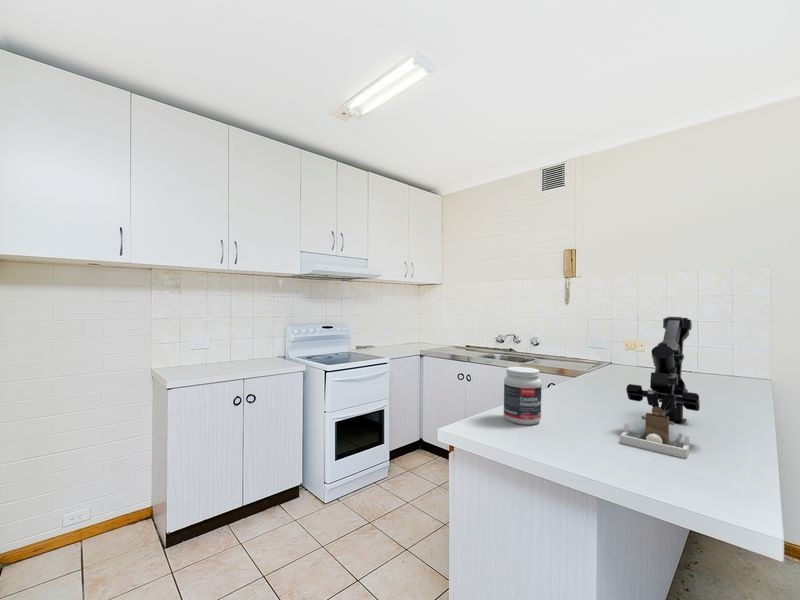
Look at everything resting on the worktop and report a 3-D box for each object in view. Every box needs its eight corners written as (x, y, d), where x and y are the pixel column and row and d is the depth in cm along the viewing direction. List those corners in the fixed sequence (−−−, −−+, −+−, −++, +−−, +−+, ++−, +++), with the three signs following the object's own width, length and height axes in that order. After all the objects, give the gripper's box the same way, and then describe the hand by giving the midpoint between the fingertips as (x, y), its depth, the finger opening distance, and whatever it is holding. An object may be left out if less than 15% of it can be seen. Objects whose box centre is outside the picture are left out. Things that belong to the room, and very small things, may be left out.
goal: (624, 438, 118) (624, 421, 118) (689, 452, 107) (690, 435, 107) (619, 443, 113) (619, 426, 113) (687, 459, 102) (687, 441, 102)
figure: (642, 437, 118) (642, 403, 118) (673, 444, 112) (674, 408, 112) (640, 440, 115) (640, 405, 115) (672, 447, 110) (672, 410, 110)
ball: (646, 432, 110) (645, 446, 109) (663, 435, 108) (662, 450, 107) (646, 431, 113) (645, 445, 113) (662, 435, 111) (661, 449, 110)
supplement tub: (527, 428, 127) (528, 374, 127) (496, 419, 137) (496, 368, 137) (548, 421, 135) (548, 370, 135) (517, 412, 145) (517, 365, 145)
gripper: (627, 359, 125) (619, 398, 117) (699, 366, 113) (695, 411, 104) (632, 379, 131) (624, 418, 123) (701, 389, 118) (697, 432, 110)
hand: (658, 419), depth 115 cm, fingers closed, pressing on figure
